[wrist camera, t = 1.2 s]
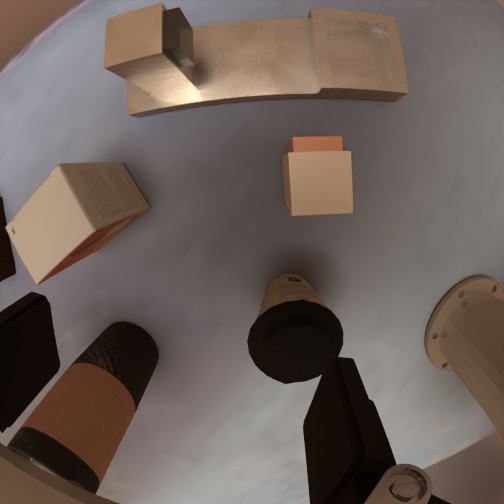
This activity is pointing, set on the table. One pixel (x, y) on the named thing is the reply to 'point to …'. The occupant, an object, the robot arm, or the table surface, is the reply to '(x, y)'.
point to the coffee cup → (293, 332)
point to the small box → (74, 215)
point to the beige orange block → (317, 176)
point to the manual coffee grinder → (5, 248)
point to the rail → (253, 59)
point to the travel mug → (90, 408)
